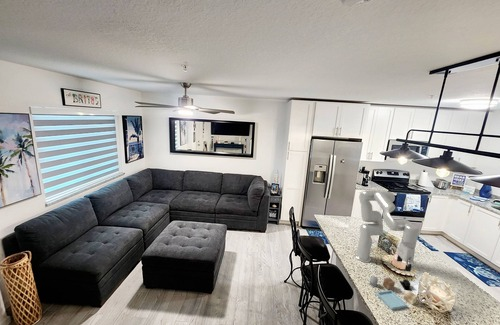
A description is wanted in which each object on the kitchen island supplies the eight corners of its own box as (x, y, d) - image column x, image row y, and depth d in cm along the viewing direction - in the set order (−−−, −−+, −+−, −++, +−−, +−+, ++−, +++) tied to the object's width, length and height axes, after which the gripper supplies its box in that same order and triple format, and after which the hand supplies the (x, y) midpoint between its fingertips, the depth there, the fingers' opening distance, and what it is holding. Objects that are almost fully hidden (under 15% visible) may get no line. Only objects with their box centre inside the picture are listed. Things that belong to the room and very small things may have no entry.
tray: (376, 294, 141) (376, 292, 140) (390, 292, 143) (391, 290, 143) (391, 310, 129) (391, 307, 129) (406, 307, 132) (407, 305, 132)
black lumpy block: (396, 279, 157) (397, 274, 156) (407, 281, 155) (408, 276, 154) (404, 292, 145) (405, 286, 144) (416, 294, 143) (417, 289, 143)
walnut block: (382, 285, 149) (384, 278, 148) (387, 284, 150) (389, 277, 149) (388, 290, 145) (389, 283, 144) (393, 289, 146) (395, 282, 145)
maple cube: (403, 299, 138) (404, 292, 137) (407, 296, 141) (408, 290, 140) (411, 305, 134) (413, 298, 133) (415, 302, 136) (417, 296, 135)
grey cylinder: (368, 282, 151) (369, 276, 150) (373, 281, 152) (374, 276, 151) (372, 287, 147) (374, 281, 146) (378, 286, 148) (379, 280, 147)
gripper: (395, 235, 145) (390, 257, 148) (410, 250, 128) (404, 274, 131) (407, 237, 144) (402, 258, 147) (423, 251, 127) (417, 276, 130)
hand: (403, 266), depth 139 cm, fingers open, 9 cm apart
